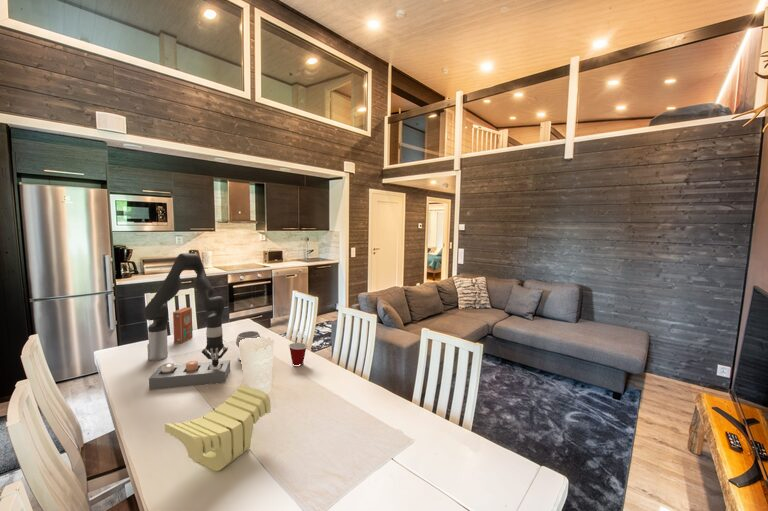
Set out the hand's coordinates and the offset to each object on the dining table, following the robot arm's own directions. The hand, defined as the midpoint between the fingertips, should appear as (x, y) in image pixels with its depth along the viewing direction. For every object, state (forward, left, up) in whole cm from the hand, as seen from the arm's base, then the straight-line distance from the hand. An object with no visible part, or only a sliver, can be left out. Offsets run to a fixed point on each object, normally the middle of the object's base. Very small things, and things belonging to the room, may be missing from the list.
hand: (215, 365), depth 175 cm
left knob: (-22, 0, -2) cm, 22 cm away
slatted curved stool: (+15, -64, -7) cm, 66 cm away
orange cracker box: (-33, +65, -7) cm, 73 cm away
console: (-11, 0, -6) cm, 13 cm away
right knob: (0, 0, -5) cm, 5 cm away
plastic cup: (+43, +7, -7) cm, 44 cm away
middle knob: (-11, 0, -2) cm, 11 cm away
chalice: (+14, +23, -7) cm, 28 cm away
